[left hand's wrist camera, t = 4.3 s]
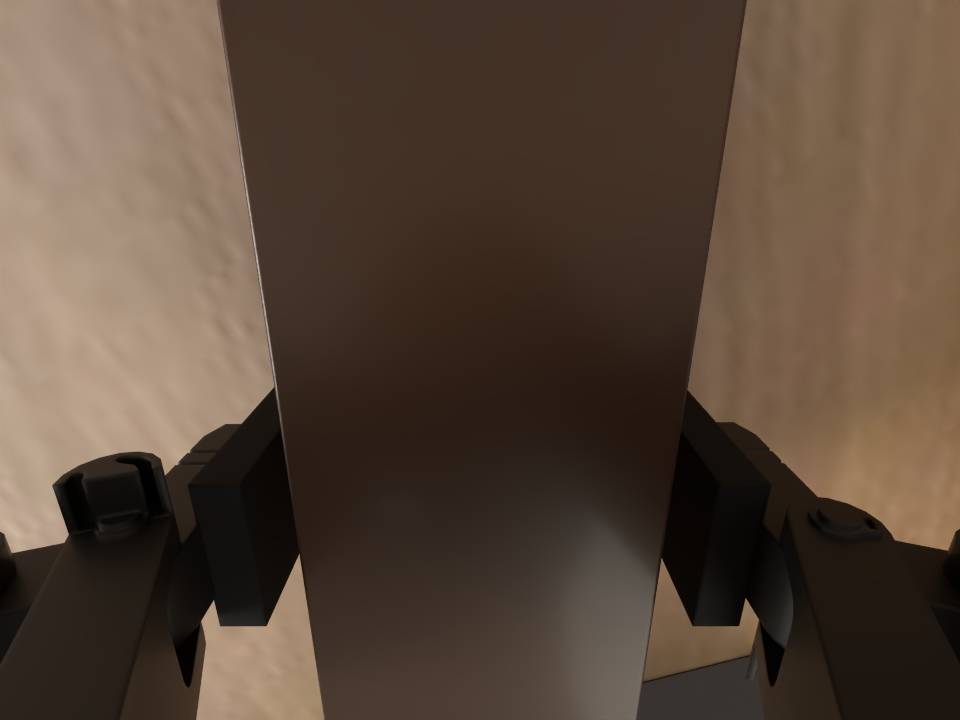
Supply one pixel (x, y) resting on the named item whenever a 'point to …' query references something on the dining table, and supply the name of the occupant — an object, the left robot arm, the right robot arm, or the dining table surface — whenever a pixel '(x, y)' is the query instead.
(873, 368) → the dining table surface
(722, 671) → the grey block
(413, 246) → the plank
